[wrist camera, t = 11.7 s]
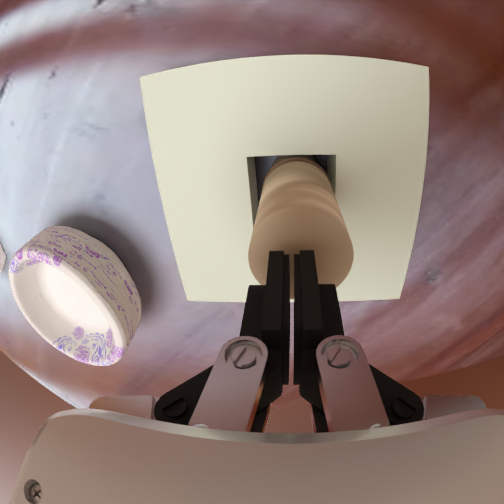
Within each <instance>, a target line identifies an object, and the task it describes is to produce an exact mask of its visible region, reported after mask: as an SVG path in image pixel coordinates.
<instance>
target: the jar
mask: <svg viewBox="0 0 504 504" xmlns="http://www.w3.org/2000/svg"><path fill="white" fill-rule="evenodd" d="M5 261H6V254H5V252H4V250H3V248H2V246H1V244H0V273H1V272H2V271H3V268H4V264H5Z"/></svg>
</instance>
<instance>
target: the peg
mask: <svg viewBox="0 0 504 504" xmlns="http://www.w3.org/2000/svg"><path fill="white" fill-rule="evenodd" d="M300 250H314V254H315V262H316V269H317V277H318V284H335V286H336V288H337V287H338V286H339V285H340V284H341V283H342V282H343V281H344V280H345V278H346V277H347V276H348V274H349V272H350V270H351V267H352V264H353V258H354V251H353V245H352V241H351V239H350V236H349V233H348V230H347V227H346V224H345V222H344V219H343V216H342V214H341V211H340V208H339V206H338V203H337V200H336V198H335V195H334V193H333V190H332V188H331V184H330V181H329V178H328V176H327V174H326V172H325V171H324V170H323V168H322V167H321V166H320V165H318V164H317V162H316V160H315V158H314V157H313V156H312V155H278V156H277V157H276V158H275V160H274V162H273V165H272V167H271V168H270V170H269V171H268V172H267V174H266V176H265V178H264V182H263V187H262V194H261V198H260V202H259V207H258V211H257V215H256V220H255V224H254V228H253V233H252V237H251V241H250V245H249V251H248V261H249V266H250V269H251V272H252V274H253V276H254V277H255V279H256V280H257V281H258V282H259V283H260V285H266V279H267V269H268V259H269V251H284V254H289V259H290V299H293V300H294V254H299V251H300Z"/></svg>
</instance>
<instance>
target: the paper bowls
mask: <svg viewBox="0 0 504 504" xmlns="http://www.w3.org/2000/svg"><path fill="white" fill-rule="evenodd" d="M9 282H10V286H11V290H12V293H13V295H14V298H15V300H16V302H17V304H18V306H19V308H20V310H21V311H22V313H23V315H24V316H25V317H26V319H27V320H28V322H29V323H30V324H31V325H32V326H33V328H34V329H35V330H36V331H37V332H38V333H39V334H40V335H41V336H42V337H43V338H44V339H45V340H46V341H47V342H49V343H50V344H51V345H52V346H54V347H55V348H56V349H58V350H59V351H61V352H62V353H64V354H66V355H68V356H69V357H71V358H73V359H76V360H78V361H80V362H83V363H86V364H91V365H96V366H107V365H112V364H114V363H116V362H118V361H119V360H120V359H121V358H122V357H123V355H124V354H125V352H126V350H127V348H128V346H129V344H130V341H131V340H132V338H133V336H134V334H135V332H136V330H137V328H138V326H139V324H140V321H141V315H142V307H141V299H140V296H139V293H138V290H137V287H136V285H135V283H134V281H133V280H132V278H131V276H130V274H129V273H128V271H127V270H126V268H125V267H124V265H123V263H122V262H121V261H120V259H119V258H118V257H117V255H116V254H115V253H114V252H113V251H112V250H111V249H110V248H109V247H107V246H106V245H105V244H104V243H102V242H101V241H99V240H97V239H95V238H93V237H91V236H89V235H88V234H86V233H84V232H82V231H80V230H77V229H72V228H71V227H66V226H52V227H49V228H46V229H44V230H43V231H41V232H40V233H39V234H37V235H36V236H34V237H33V238H32V239H31V240H30V241H29V242H27V243H26V244H25V245H24V246H23V247H22V248H20V249H19V250H18V251H17V252H16V253H15V254H14V256H13V257H12V259H11V262H10V265H9Z"/></svg>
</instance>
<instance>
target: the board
mask: <svg viewBox="0 0 504 504" xmlns="http://www.w3.org/2000/svg"><path fill="white" fill-rule="evenodd" d="M140 83H141V91H142V98H143V104H144V111H145V117H146V123H147V129H148V135H149V141H150V146H151V152H152V157H153V162H154V167H155V172H156V177H157V182H158V187H159V191H160V196H161V200H162V205H163V209H164V214H165V218H166V222H167V226H168V230H169V234H170V238H171V242H172V246H173V250H174V254H175V258H176V261H177V265H178V269H179V273H180V276H181V280H182V283H183V287H184V290H185V294H186V297H187V301H215V302H246V298H247V292H248V287H249V285H260V283H259V282H258V281H257V280H256V279H255V277H254V276H253V274H252V272H251V269H250V266H249V261H248V251H249V245H250V241H251V237H252V233H253V228H254V224H255V220H256V215H257V211H258V207H259V204H258V192H257V181H256V169H255V158H254V156H275V155H328V178H329V181H330V184H331V188H332V190H333V193H334V195H335V198H336V200H337V203H338V206H339V208H340V211H341V214H342V216H343V219H344V222H345V224H346V227H347V230H348V233H349V236H350V239H351V241H352V245H353V251H354V258H353V264H352V267H351V270H350V272H349V274H348V276H347V277H346V278H345V280H344V281H343V282H342V283H341V284H340V285H339V286H338V287H337V288H336V291H337V296H338V301H362V300H384V299H399V298H400V295H401V291H402V287H403V284H404V280H405V276H406V272H407V268H408V264H409V260H410V256H411V251H412V247H413V242H414V237H415V232H416V227H417V222H418V216H419V210H420V204H421V198H422V191H423V183H424V175H425V166H426V156H427V144H428V127H429V67H426V66H421V65H416V64H410V63H404V62H398V61H391V60H384V59H375V58H366V57H354V56H338V55H276V56H260V57H248V58H238V59H230V60H222V61H215V62H208V63H202V64H196V65H191V66H186V67H181V68H176V69H171V70H167V71H162V72H158V73H154V74H150V75H146V76H142V77H140ZM290 302H294V300H293V299H290Z"/></svg>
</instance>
